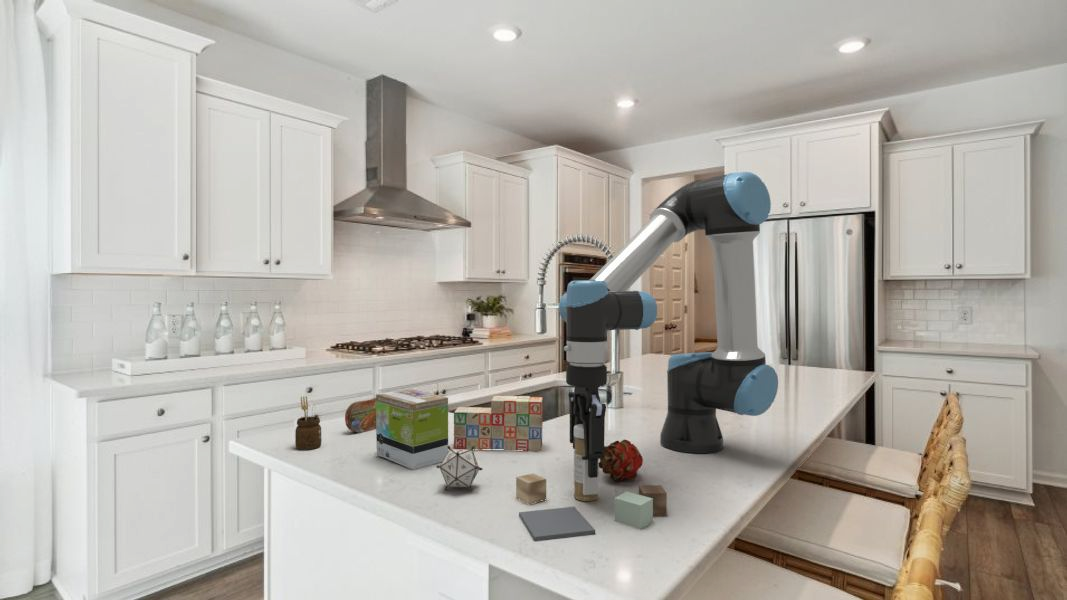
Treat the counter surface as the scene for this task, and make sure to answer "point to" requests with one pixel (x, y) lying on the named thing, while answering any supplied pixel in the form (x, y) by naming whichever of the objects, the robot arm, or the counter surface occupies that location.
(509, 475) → the counter surface
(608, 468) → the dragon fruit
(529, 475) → the oak block
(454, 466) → the game die
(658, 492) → the walnut block
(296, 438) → the utensil holder
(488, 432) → the stack of blocks
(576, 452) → the sprinkles bottle
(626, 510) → the sage painted block
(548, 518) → the slate mat
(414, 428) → the tea box
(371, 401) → the tin
